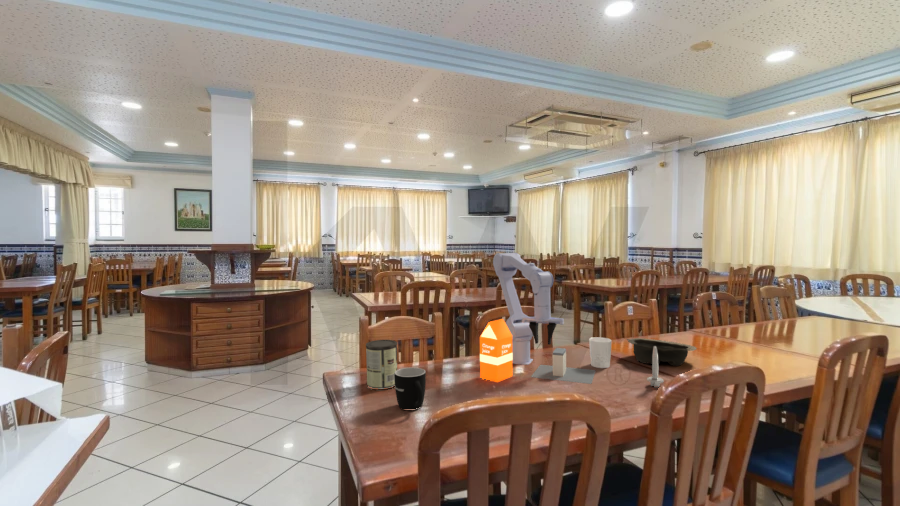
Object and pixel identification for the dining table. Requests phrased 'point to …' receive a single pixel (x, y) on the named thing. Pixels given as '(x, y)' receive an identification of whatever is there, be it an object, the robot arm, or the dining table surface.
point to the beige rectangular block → (559, 362)
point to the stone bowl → (660, 351)
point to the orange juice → (496, 352)
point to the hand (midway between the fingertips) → (543, 343)
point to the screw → (655, 370)
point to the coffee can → (381, 363)
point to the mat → (569, 375)
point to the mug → (410, 387)
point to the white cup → (600, 352)
